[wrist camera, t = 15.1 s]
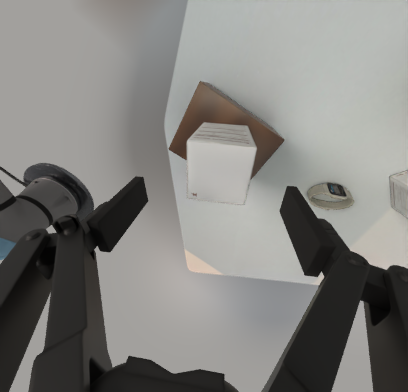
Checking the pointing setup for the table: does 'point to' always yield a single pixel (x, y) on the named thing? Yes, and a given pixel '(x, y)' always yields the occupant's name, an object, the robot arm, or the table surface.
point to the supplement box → (400, 192)
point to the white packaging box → (220, 163)
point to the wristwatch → (333, 192)
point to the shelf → (224, 114)
